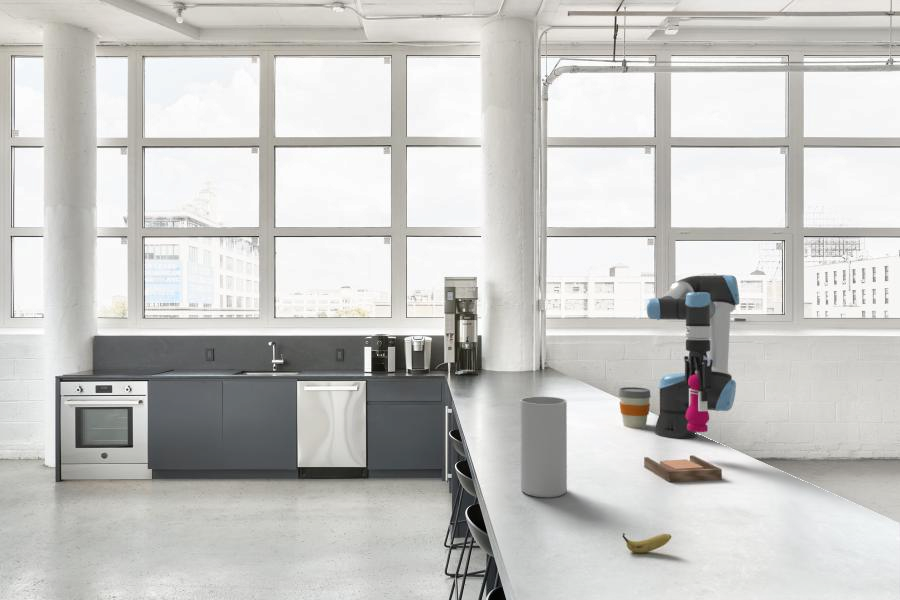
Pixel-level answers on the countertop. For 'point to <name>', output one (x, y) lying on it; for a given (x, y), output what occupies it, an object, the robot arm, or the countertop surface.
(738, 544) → the countertop surface
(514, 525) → the countertop surface
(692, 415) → the pepper mill
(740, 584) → the countertop surface
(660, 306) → the robot arm
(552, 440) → the cylinder vase
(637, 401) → the reusable coffee cup
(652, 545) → the banana
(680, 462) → the terracotta tile
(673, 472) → the walnut frame
